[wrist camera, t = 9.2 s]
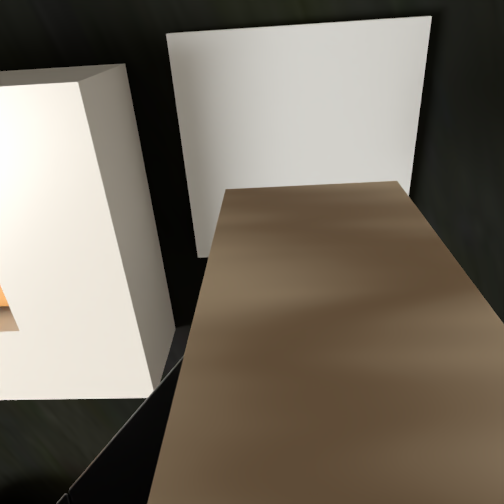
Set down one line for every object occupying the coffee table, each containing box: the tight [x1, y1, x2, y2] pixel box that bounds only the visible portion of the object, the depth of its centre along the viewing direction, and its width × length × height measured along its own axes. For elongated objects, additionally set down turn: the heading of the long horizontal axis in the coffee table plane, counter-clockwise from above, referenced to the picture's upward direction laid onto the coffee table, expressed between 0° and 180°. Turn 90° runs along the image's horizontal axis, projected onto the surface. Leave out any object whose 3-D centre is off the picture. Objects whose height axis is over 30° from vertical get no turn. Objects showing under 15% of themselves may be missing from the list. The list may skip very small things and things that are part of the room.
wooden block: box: [147, 181, 504, 504], centre depth 7 cm, size 4×4×9 cm
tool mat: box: [166, 16, 432, 258], centre depth 19 cm, size 10×10×1 cm
